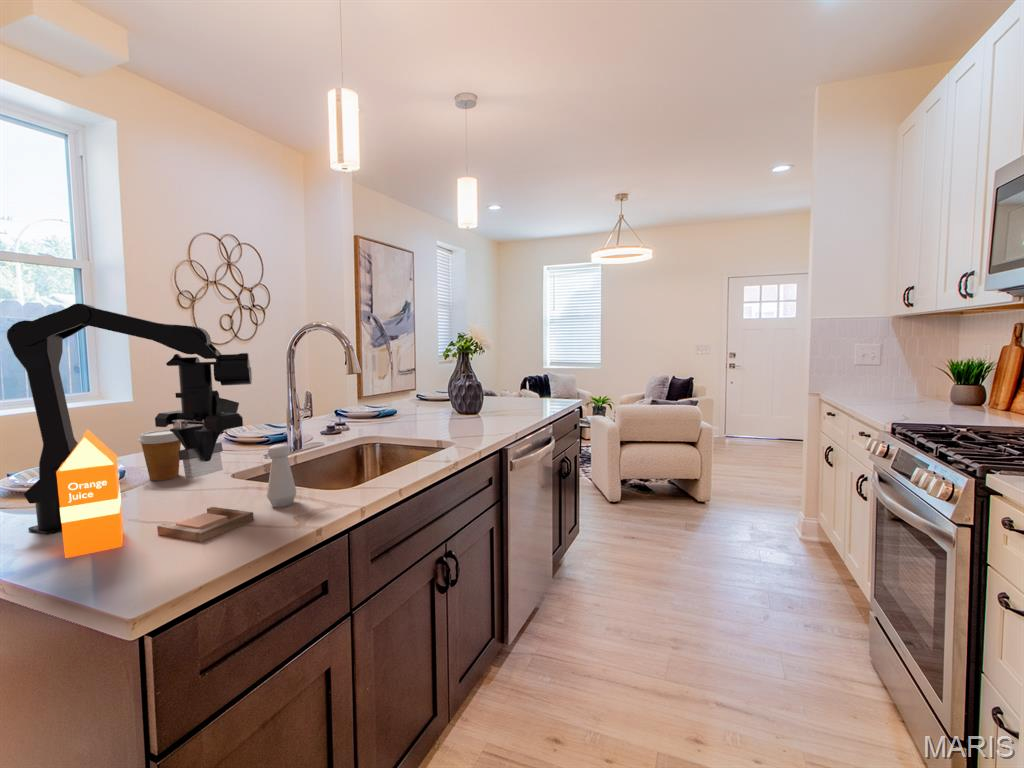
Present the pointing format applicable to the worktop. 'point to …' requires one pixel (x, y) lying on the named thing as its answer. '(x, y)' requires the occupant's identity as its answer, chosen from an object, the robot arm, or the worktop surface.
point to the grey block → (200, 461)
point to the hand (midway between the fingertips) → (201, 460)
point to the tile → (202, 521)
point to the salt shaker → (280, 477)
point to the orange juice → (90, 498)
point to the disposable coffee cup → (161, 454)
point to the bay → (234, 521)
